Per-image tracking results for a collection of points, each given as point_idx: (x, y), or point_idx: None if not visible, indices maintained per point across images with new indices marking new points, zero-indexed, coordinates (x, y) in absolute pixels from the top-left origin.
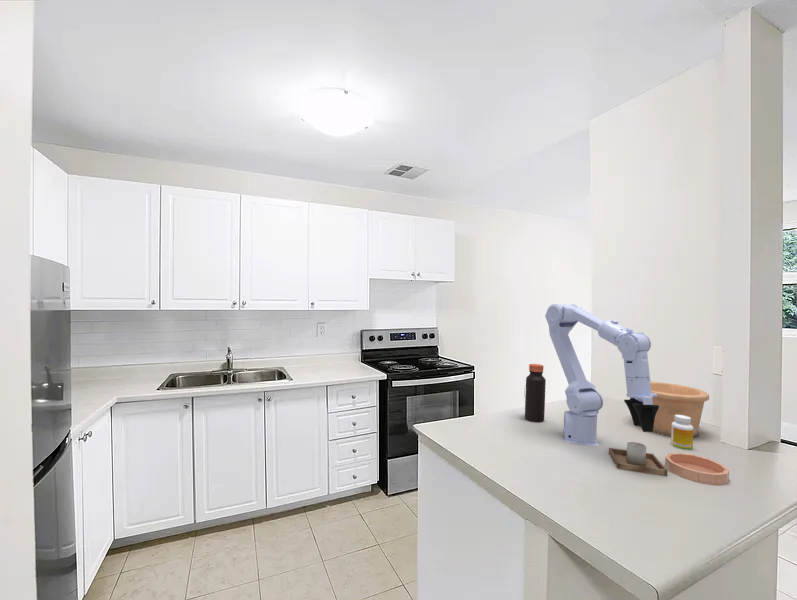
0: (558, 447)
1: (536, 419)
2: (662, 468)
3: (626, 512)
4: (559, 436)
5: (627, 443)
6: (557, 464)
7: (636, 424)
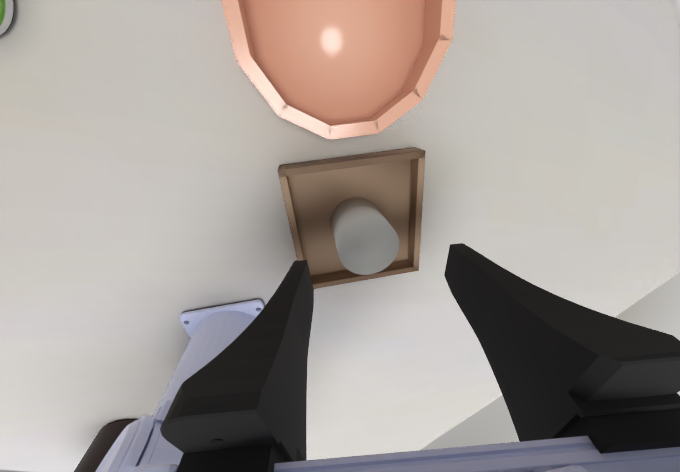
0: (320, 362)
1: None
2: (401, 159)
3: (587, 248)
4: None
5: (366, 273)
6: (419, 349)
7: (311, 290)
